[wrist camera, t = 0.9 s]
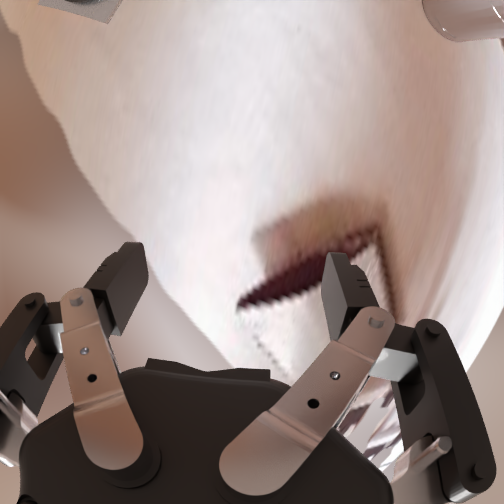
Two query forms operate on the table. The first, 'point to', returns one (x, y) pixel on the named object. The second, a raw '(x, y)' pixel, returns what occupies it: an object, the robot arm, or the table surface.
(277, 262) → the table surface
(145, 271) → the robot arm
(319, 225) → the table surface
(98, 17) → the stand
